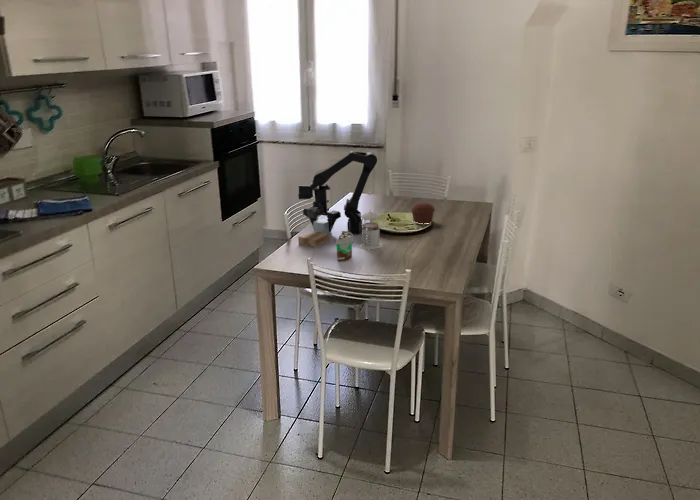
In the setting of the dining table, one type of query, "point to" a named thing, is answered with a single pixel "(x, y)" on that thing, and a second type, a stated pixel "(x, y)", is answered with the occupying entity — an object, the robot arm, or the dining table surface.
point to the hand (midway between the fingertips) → (322, 230)
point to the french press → (370, 231)
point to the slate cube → (321, 226)
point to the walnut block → (313, 239)
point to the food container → (344, 246)
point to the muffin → (422, 212)
